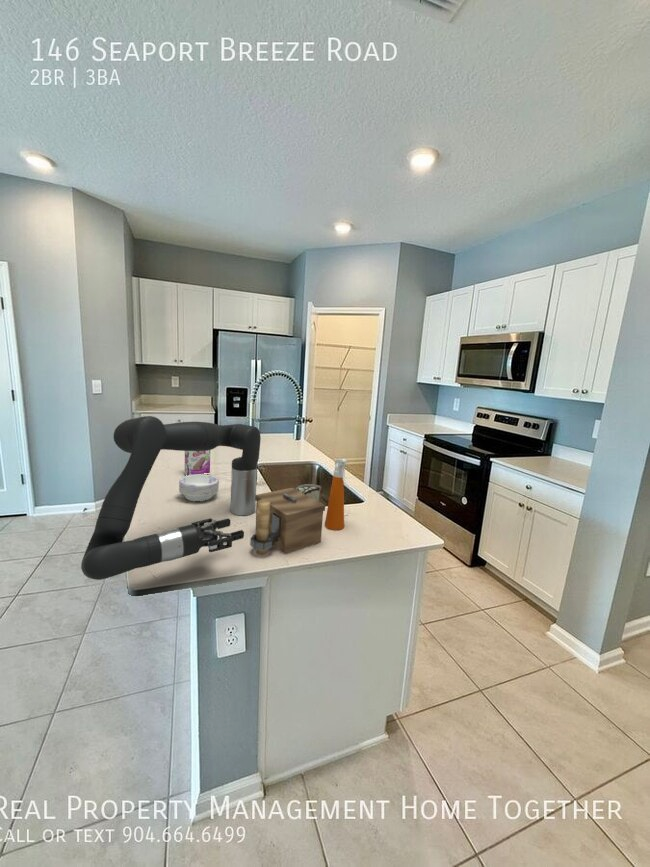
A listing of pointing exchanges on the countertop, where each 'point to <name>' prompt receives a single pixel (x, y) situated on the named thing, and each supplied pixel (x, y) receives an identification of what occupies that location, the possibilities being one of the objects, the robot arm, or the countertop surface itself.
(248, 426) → the robot arm
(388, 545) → the countertop surface
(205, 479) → the paper bowls
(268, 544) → the hasp
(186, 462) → the candy bar box
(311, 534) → the toolbox
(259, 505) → the tan wooden cylinder
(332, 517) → the spray bottle
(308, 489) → the food container
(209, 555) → the countertop surface
